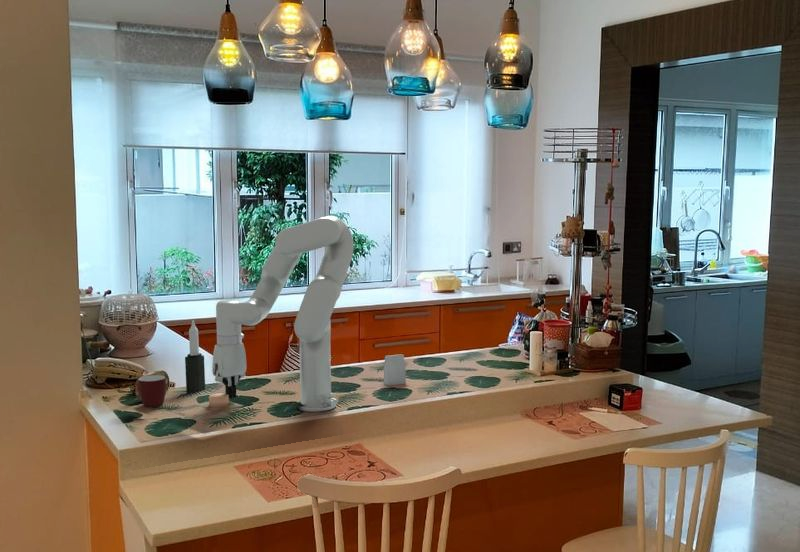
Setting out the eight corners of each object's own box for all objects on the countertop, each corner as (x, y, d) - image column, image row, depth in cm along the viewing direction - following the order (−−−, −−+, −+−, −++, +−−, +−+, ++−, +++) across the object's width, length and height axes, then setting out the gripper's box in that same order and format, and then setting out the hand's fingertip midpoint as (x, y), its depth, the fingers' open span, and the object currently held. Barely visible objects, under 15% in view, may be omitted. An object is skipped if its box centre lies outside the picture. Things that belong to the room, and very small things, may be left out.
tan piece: (244, 410, 242) (244, 405, 242) (194, 423, 229) (194, 418, 229) (219, 403, 251) (219, 398, 251) (169, 415, 238) (169, 410, 237)
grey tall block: (405, 383, 274) (405, 355, 273) (387, 385, 272) (387, 357, 271) (401, 381, 278) (401, 353, 276) (383, 382, 275) (383, 355, 274)
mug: (138, 405, 249) (136, 375, 248) (164, 403, 252) (163, 372, 251) (141, 414, 239) (139, 382, 238) (168, 411, 242) (167, 379, 241)
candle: (185, 395, 261) (181, 321, 259) (194, 391, 266) (191, 318, 263) (198, 396, 260) (195, 321, 257) (206, 392, 264) (204, 319, 262)
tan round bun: (232, 404, 243) (232, 395, 243) (216, 409, 239) (216, 399, 238) (221, 401, 247) (220, 392, 247) (205, 405, 243) (204, 396, 242)
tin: (141, 404, 251) (140, 378, 250) (133, 403, 252) (132, 377, 251) (170, 392, 265) (169, 368, 264) (163, 391, 266) (161, 367, 265)
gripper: (241, 335, 252) (243, 390, 254) (201, 341, 241) (203, 400, 243) (256, 338, 247) (257, 394, 249) (216, 345, 236) (218, 404, 238)
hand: (231, 397), depth 246 cm, fingers closed
